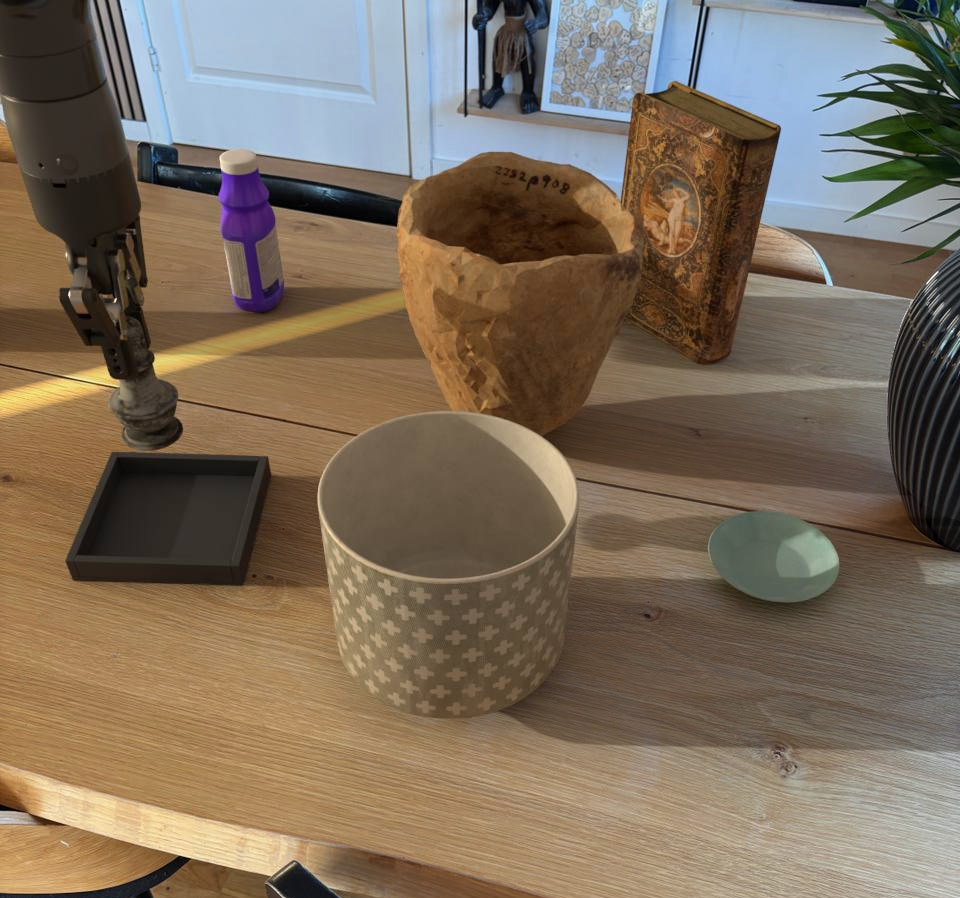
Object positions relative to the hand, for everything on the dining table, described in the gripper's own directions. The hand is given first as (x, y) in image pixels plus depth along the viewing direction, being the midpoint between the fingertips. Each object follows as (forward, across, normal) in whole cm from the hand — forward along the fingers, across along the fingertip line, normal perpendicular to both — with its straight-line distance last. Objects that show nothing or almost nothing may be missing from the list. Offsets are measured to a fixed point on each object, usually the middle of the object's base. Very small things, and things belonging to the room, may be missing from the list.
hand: (131, 362), depth 84 cm
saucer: (+18, +4, +56) cm, 59 cm away
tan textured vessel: (+18, -16, +32) cm, 40 cm away
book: (+18, -37, +51) cm, 65 cm away
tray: (+18, 0, 0) cm, 18 cm away
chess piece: (+7, 0, 0) cm, 7 cm away
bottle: (+18, -41, +1) cm, 45 cm away
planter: (+18, +15, +27) cm, 36 cm away
